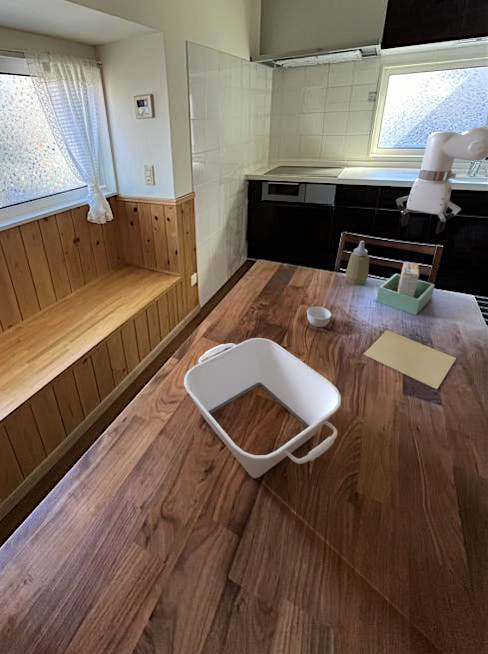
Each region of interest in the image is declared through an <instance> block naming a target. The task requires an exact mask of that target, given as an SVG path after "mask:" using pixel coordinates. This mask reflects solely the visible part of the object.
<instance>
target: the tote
mask: <svg viewBox="0 0 488 654" xmlns="http://www.w3.org/2000/svg"><path fill="white" fill-rule="evenodd" d="M400 276H401V273H397V272H396V273H395V274H393V275H392V276H391V277H389V278H388V279H387V280H386V281H385V282H384V283H382V284H381V285H380V286H379V287H378V290H377V296H376V300H375V301H376V302H378V303H381V304H383V305H387V306H389V307H392V308H395V309H398V310H401V311H404V312H406V313H409V314H411V315H414V316H417V315H418V314H419V312H420V311H421V310H422V309H423V308H424V307H425V306H426V305H427V304H428V302H429V301H430V300H431V299H432V296H433V292H434V289H435V284H434V283H432V282H428V281H424V280H421V279H418V282H417V286H416V290H415V293H414V295H416V296H419V297H418V298H416V297H415V296H414V297H411V296H408V295H404V294H401V293H398V292H397V291H395V290H393V289H397V290H398V285H399V280H400Z"/></svg>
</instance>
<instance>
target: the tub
mask: <svg viewBox="0 0 488 654" xmlns="http://www.w3.org/2000/svg"><path fill="white" fill-rule="evenodd" d="M225 349H226V350H225ZM183 386H184V388H185V390H186V392H187V393H188V395H189V396H190V397H191V399H192V401H193V402H194V404H195V405H196V408H197V409H198V411H199V412H200V414H201V415H202V417H203V418H204V420H205V421H206V423H207V424H208V425H209V427H210V428H211V429H212V430H213V431H214V432H215V434H216V435H217V437H218V438H219V439H220V440H221V442H223V444H224V445H225V446H226V447H227V449H228V450H229V451H230V452H231V454H232V455H233V456H234V458H236V460H237V461H238V463H240V465H241V466H242V467H243V469H244V470H245V471H246V472H247V473H248V475H249V476H250V477H251V478H252V479H258V478H260V477H261V476H263V475H264V474H265V473H266V472H268V471H269V470H271V469H272V468H273V467H275V466H276V465H278V464H279V463H280V462H281V461H282V460H284V459H285V458H286V457H288V458H290V460H291V461H292V462H294V463H296V464H298V465H300V464H302V465H303V464H305V463H308V462H309V461H310V462H311V461H314V460H316V459H317V458H319V457H321V455H323V454H324V453H325V452H327V451H328V450H329V449H330V448H331V447H332V446H333V444H334V443H335V441H336V439H337V437H338V429H337V428H336V427H335V426H334V425H333V424H332V423H331V422H329V421H328V420H329V419H330V418H331V417H332V416H333V415H335V414H336V413H337V411H338V410H339V408H341V406H342V405H341V404H342V395H341V394H340V392H339V390H338V388H337V387H336V386H335V385H334V384H333V383H332V382H331V381H329V380H328V379H327V378H325V377H324V376H322V374H320V373H318V372H317V371H316V370H315V369H313V368H312V367H310V366H309V365H307V364H306V363H304V362H303V361H302V360H301V359H300V358H297V356H295V355H293V354H292V353H291V352H289V351H288V350H286V349H285V348H283V347H282V346H281V345H279V344H278V343H277V342H275V341H273V340H271V339H268V338H264V337H263V338H262V337H252V338H249V339H246V340H244V341H242V342H239V343H237V344H236V343H232V342H230V343H225V344H224V343H222V344H219V345H217V346H215V347H212V348H210V349H208V350H206V351H204V354H202V355H201V356H200V357H199V358H198V363H197V364H195V365H194V366H193V367H190V369H188V370H187V372H186V374H185V375H184V377H183ZM256 387H261V388H262V389H264V391H266V392H267V393H268V394H269V395H270V396H271V397H272V398H273V399H274V400H276V401H277V402H278V403H279V404H280V405H281V406H282V407H283V408H285V409H286V410H287V411H288V412H289V413H290V414H291V415H292V416H293V417H295V418H296V420H298V421H299V422H300V423H301V424H302V425H303V426H304V427H305V428H306V429H304V430H303V431H301V432H300V433H298V434H297V435H296V436H294V437H293V438H291V439H290V440H289V441H286V443H284V444H282V446H280V447H279V448H278V449H277V450H274V451H273V452H270V453H268V454H265V455H264V454H262V455H255V454H252V453H249V452H247V451H244V450H243V449H241V448H240V447H239V446H238V445H237V444H236V443H235V442H234V441H233V440H232V439H231V437H230V436H229V435H228V434H227V433H226V430H224V429H223V428H222V426H221V425H220V424H219V423H218V422H217V421H216V419H215V418H214V417H213V416H212V415H211V414H212V413H215V412H216V411H218V410H219V409H221V408H223V407H225V406H226V405H228V404H230V403H232V402H233V401H235V400H236V399H238V398H239V397H242V396H244V395H245V394H247V393H248V392H250V391H251V390H254V389H255V388H256ZM324 425H326V426H327V427H328V428H330V430H332V435H328V437H327V438H326V439H325V440H323V441H322V442H321V443H320V444H318V445H317V446H316V447H314V448H312V449H311V450H310V451H308V453H307V455H304V456H302V457H300V458H299V457H296V456H294V454H293V452H294V451H296V450H297V449H298V448H300V447H301V446H302V445H303V444H305V443H306V442H308V441H309V440H311V438H313V437H314V436H315V435H316V434H317V433H318V431H320V429H322V427H323V426H324Z"/></svg>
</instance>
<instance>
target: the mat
mask: <svg viewBox="0 0 488 654" xmlns="http://www.w3.org/2000/svg"><path fill="white" fill-rule="evenodd" d="M363 356H365V357H367V358H370V359H372V360H373V361H376V362H378V363H380V364H383V365H385V366H387V367H389V368H390V369H393V370H395V371H397V372H399V373H401V374H403V375H405V376H408V377H410V378H412V379H414V380H416V381H417V382H420V383H422V384H424V385H425V386H426V385H427V386H429V387H430V388H433V389H434V390H438V389H439V387H440V386H441V384H442V382H443V381H444V379H445V378H446V376H447V374H448V373H449V371H450V370H451V368H452V366H453V365H454V363H455V361H456V360H457V357H455V356H453V355H451V354H448V353H445V352H443V351H440V350H437V349H435V348H433V347H430V346H428V345H425V344H423V343H422V342H421V343H420V342H419V341H416V340H413V339H411V338H408V337H407V336H404V335H401V334H398V333H396V332H393V331H391V330H388V329H386V330H385V331H384V332H383V333H382V334H381V335H380V337H378V338H377V340H376V341H374V343H373V344H371V346H370V347H369V348H368V349H366V351H365V352H364V353H363Z"/></svg>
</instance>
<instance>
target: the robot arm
mask: <svg viewBox="0 0 488 654" xmlns="http://www.w3.org/2000/svg"><path fill="white" fill-rule="evenodd" d="M487 157H488V124H486V125H483V126H478V127H475V128H471V129H469V130H466V131H463V132H462V133H458V132H455V131H454V132H453V131H435V132H432V133H430V134H429V135H428V137H427V140H426V144H425V148H424V152H423V157H422V162H421V166H420V169H419V175H418V177H417V178H415V180H414V182H413V184H412V187H411V189H410V192H409V194H408V195H406V196H403V197H399V198H397V199H396V200H395V202H396V205H397V209H398V210H399V211H400V213H401V219H400V223H401V227H405V226H407V225H408V222H409V218H410V211H414V212H420V213H424V214H430V215H437V217H438V218H439V219H440V220H438V222H437V226H436V229H435V234H440V233H441V232H443V231H444V229H445V227H446V224H447V223H446V222H447V221H448V220H451V219H452V218H454V217H455V216H457V214H458V213H459V212H460V211H462V208H461V207H460V206H459V205H456V203H453V202H452V201H451V200H450V198H451V193H452V186H453V185H452V180H450V179H456V177H457V173H454V172H453V170H452V169H453V166H454V165H453V164H454V161H455V159H457V160H463V161H469V162H470V161H471V162H474V161H480V160H483V159H486V158H487ZM406 201H407V202H406ZM403 202H406V206H405V205H404V203H403ZM448 208H449V209H451V210H452V211H451V212H450V213H448V214H447V212H446V211H447V210H448Z"/></svg>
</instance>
